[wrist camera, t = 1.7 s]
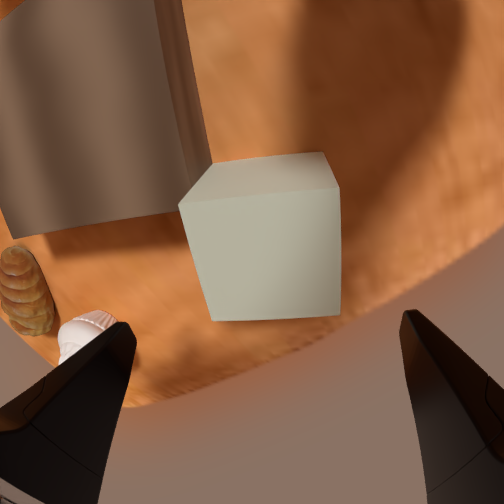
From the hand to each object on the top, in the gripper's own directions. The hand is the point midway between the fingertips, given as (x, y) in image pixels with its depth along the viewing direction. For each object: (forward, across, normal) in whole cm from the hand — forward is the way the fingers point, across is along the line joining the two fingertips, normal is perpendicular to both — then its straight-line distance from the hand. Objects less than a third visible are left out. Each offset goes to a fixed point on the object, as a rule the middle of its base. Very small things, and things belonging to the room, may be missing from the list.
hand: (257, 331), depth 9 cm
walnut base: (+10, +10, -9) cm, 17 cm away
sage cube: (+10, 0, 0) cm, 10 cm away
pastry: (+10, +25, +5) cm, 27 cm away
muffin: (+10, +16, +9) cm, 21 cm away
